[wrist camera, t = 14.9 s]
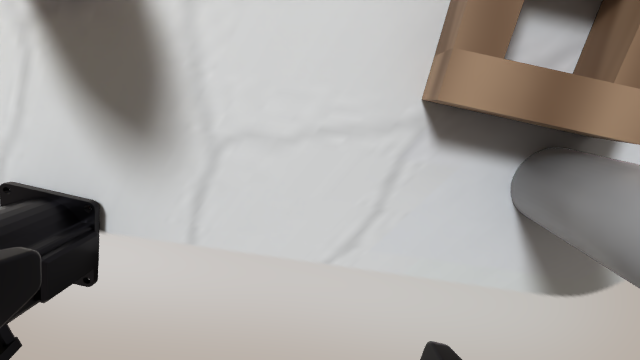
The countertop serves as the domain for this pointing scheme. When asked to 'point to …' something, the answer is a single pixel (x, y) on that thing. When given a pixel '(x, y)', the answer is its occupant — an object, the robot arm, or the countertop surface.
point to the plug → (585, 204)
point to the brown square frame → (541, 71)
